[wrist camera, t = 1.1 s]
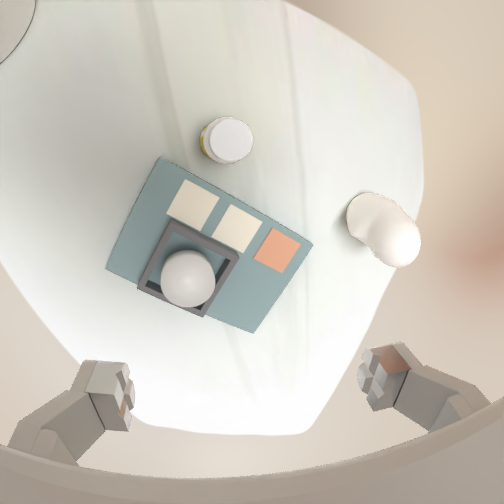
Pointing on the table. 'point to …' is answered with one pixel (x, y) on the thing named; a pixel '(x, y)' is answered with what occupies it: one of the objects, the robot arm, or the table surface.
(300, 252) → the board
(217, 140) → the supplement bottle
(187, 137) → the table surface
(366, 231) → the figurine
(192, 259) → the dome
